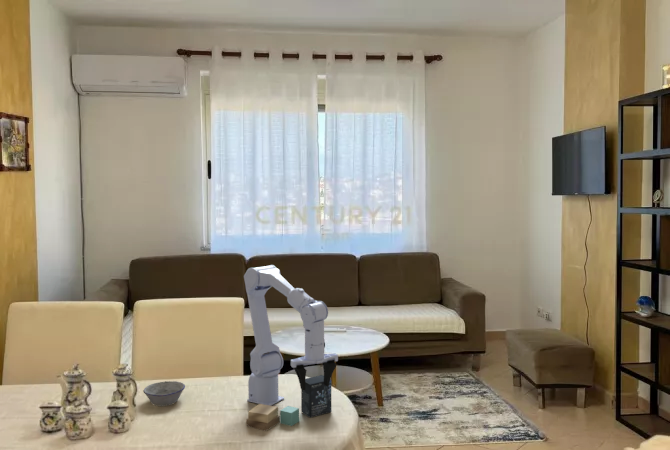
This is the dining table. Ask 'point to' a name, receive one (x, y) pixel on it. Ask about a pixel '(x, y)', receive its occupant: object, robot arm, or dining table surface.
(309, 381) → the box
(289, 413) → the teal cube
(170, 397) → the bowl
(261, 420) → the slab top
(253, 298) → the robot arm
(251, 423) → the slab bottom
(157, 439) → the dining table surface
